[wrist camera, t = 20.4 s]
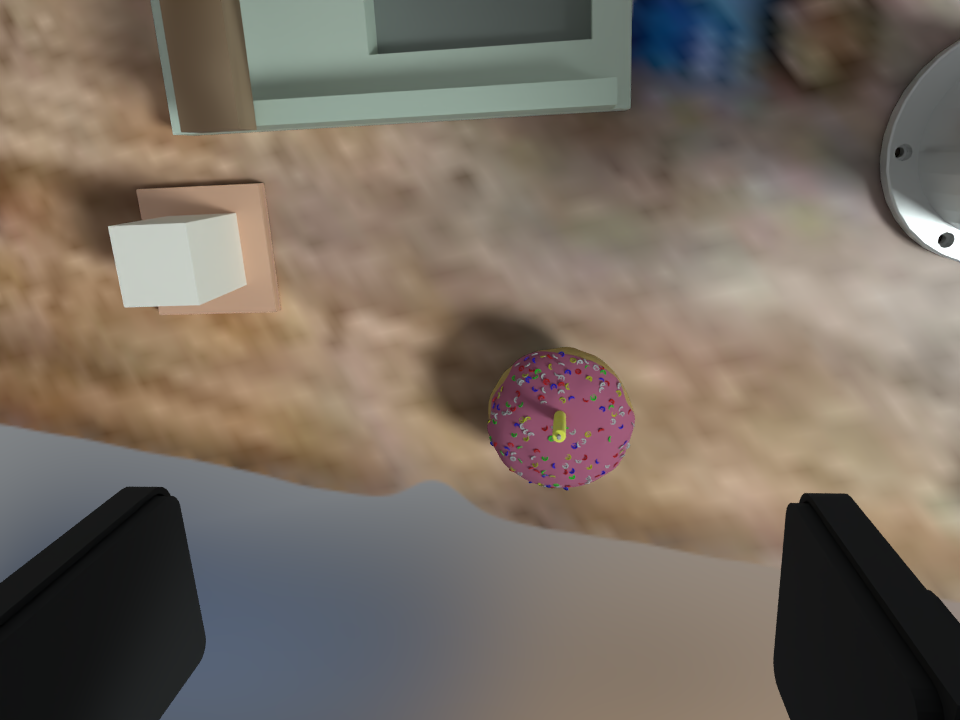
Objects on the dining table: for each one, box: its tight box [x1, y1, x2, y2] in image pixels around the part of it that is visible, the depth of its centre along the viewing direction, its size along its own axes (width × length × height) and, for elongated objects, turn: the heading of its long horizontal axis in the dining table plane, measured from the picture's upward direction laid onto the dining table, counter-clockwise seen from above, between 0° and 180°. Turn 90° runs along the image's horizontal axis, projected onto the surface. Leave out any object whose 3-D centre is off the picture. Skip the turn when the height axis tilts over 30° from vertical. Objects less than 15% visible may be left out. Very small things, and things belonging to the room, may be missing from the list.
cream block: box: [108, 213, 247, 307], centre depth 41 cm, size 4×4×6 cm
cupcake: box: [487, 347, 635, 490], centre depth 39 cm, size 9×8×12 cm
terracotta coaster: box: [136, 183, 281, 315], centre depth 44 cm, size 8×8×1 cm
